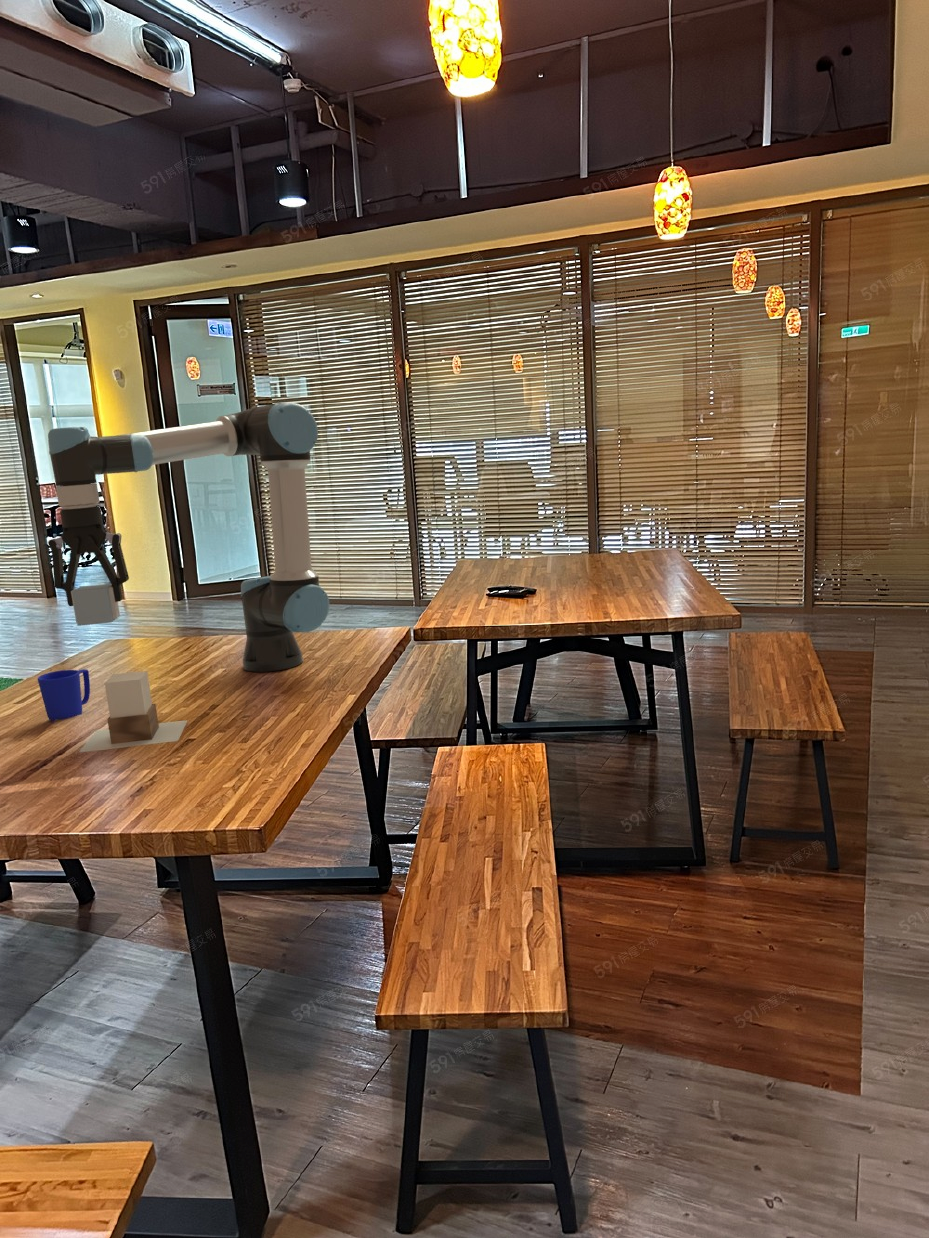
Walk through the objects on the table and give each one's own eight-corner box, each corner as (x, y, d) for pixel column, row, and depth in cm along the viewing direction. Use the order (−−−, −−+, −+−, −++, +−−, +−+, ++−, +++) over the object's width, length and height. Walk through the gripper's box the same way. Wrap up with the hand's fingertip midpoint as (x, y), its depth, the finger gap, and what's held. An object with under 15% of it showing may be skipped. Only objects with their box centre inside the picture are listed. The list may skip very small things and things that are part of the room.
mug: (107, 708, 192) (100, 665, 190) (66, 725, 181) (58, 680, 179) (78, 706, 195) (71, 664, 193) (36, 724, 183) (28, 679, 181)
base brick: (158, 727, 172) (155, 703, 171) (151, 739, 165) (148, 714, 164) (120, 731, 171) (116, 707, 170) (111, 744, 164) (107, 719, 163)
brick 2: (152, 704, 170) (147, 670, 169) (145, 714, 164) (140, 679, 163) (118, 708, 170) (112, 674, 168) (110, 718, 163) (104, 683, 162)
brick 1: (118, 616, 179) (113, 583, 177) (111, 622, 173) (106, 588, 171) (86, 619, 178) (80, 586, 176) (77, 625, 172) (72, 591, 170)
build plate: (188, 724, 176) (187, 720, 176) (178, 745, 163) (177, 740, 163) (96, 735, 173) (96, 730, 173) (79, 757, 160) (78, 752, 160)
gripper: (134, 501, 175) (151, 611, 180) (34, 509, 173) (53, 620, 177) (126, 503, 168) (144, 617, 173) (21, 512, 165) (42, 628, 170)
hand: (98, 619), depth 175 cm, fingers closed on brick 1, 6 cm apart
